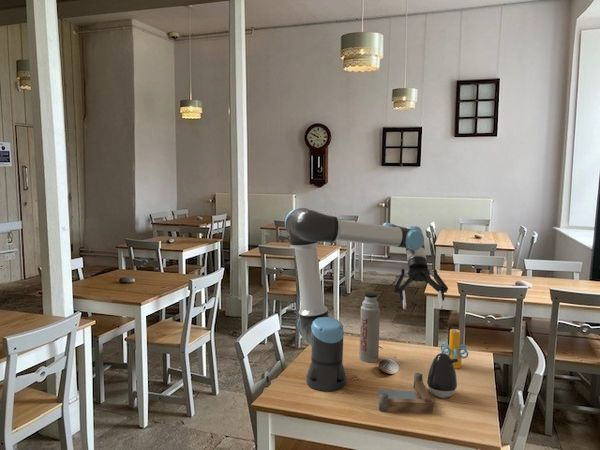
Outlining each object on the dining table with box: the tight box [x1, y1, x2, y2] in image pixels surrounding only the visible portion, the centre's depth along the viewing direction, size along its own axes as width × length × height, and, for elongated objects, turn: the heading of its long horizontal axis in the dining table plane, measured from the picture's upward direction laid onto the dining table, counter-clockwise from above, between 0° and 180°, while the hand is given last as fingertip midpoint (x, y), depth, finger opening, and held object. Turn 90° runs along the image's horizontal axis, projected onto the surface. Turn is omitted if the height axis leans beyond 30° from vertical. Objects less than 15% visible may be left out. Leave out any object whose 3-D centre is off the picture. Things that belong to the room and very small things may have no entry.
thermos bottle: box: [358, 292, 381, 363], centre depth 209 cm, size 8×8×28 cm
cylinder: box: [440, 328, 469, 370], centre depth 203 cm, size 12×10×15 cm
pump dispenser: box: [426, 352, 458, 399], centre depth 177 cm, size 10×10×15 cm
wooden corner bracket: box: [378, 372, 434, 414], centre depth 174 cm, size 18×21×5 cm
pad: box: [377, 389, 418, 399], centre depth 173 cm, size 13×13×1 cm
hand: (423, 307), depth 187 cm, fingers open, 13 cm apart
